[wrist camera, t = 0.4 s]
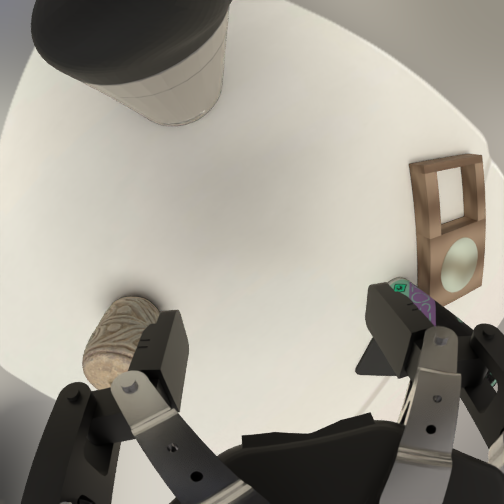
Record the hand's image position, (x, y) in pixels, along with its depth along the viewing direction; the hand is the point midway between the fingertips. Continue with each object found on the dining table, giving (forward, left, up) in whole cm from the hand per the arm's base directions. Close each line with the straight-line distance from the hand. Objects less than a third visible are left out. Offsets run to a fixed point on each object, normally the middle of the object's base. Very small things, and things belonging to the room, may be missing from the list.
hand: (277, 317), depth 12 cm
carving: (+7, -15, -20) cm, 26 cm away
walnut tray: (+8, +27, -20) cm, 35 cm away
